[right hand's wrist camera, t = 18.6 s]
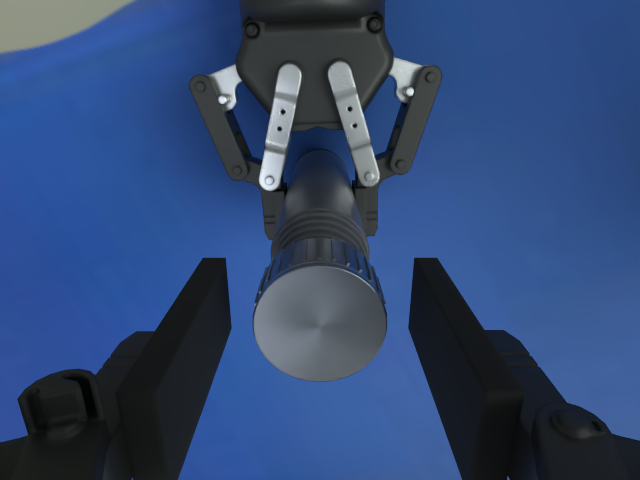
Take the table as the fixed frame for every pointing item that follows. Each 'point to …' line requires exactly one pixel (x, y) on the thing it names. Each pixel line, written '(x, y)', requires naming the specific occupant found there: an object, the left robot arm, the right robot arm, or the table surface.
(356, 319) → the cap
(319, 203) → the dark grey long cylinder
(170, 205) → the table surface
